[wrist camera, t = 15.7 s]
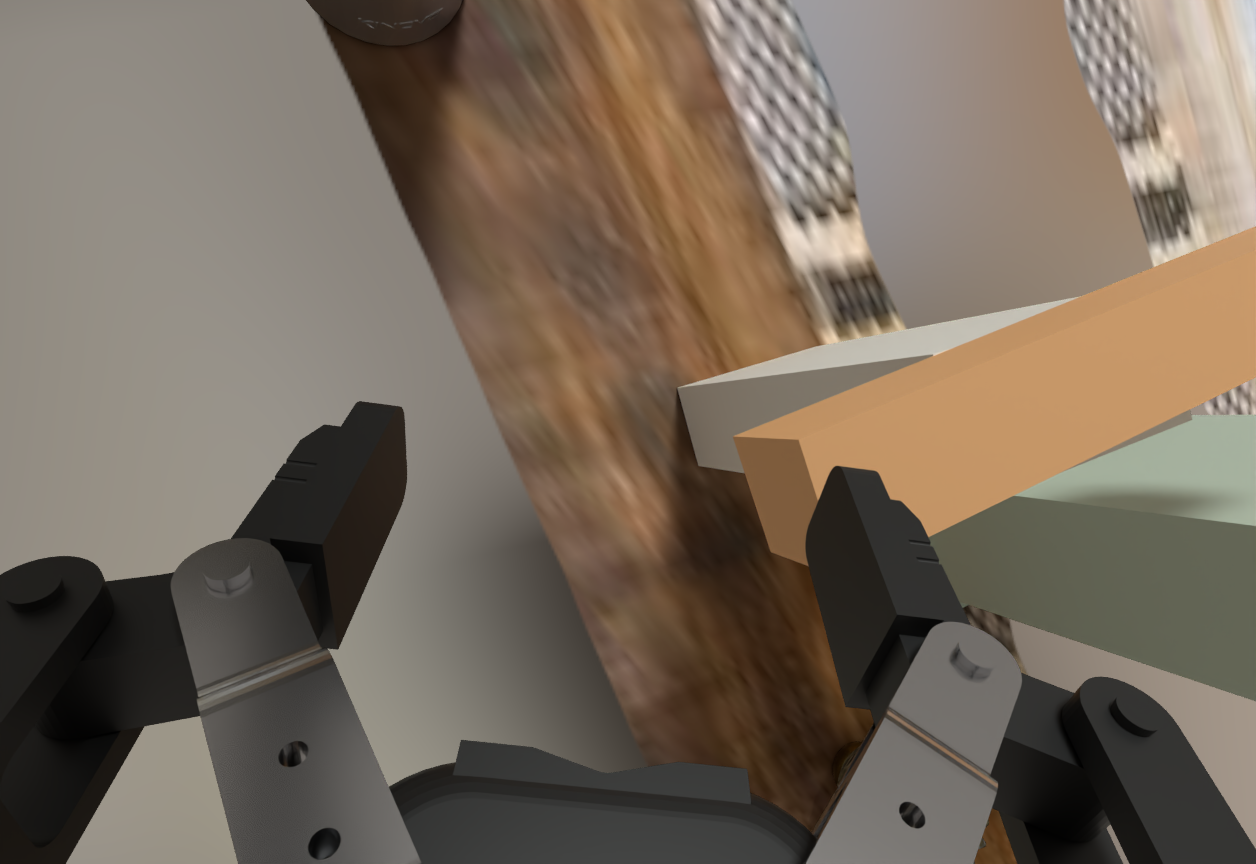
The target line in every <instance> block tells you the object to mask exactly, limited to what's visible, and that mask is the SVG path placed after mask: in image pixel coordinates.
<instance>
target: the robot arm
mask: <svg viewBox="0 0 1256 864" xmlns="http://www.w3.org/2000/svg"><path fill="white" fill-rule="evenodd" d="M306 1H307V2H308V3H309V4H310V6H311V7H312V8H313V9H314V11H316V12H317V13H318V14H319V15H320V16H321V17H322V18H324V19H325V20H326V21H327V22H328V23H329V24H331V25H332V26H334V27H336V28H337V29H339V30H341V31H342V32H344V33H346V34H347V35H349V36H352V37H355V38H357V39H360V40H363V41H365V42H369V43H374V44H380V45H386V46H389V45H407V44H411V43H416V42H420V41H423V40H425V39H427V38H429V37H431V36H433V35H435V34H437V33H438V32H439V31H440V30H441V29H443V28H444V27H445V26H446V25H447V24H448V23H449V22H450V21H451V20H452V18H453V17H454V16H455V14H456V13H457V11H458V10H459V8H460V5H461V3H462V0H306ZM405 440H406V439H405V420H404V412H403V409H402V407H399V406H391V405H384V404H377V403H369V402H362V401H359V402H357V403H356V404H355V406H354V407H353V409H352V410H351V412H350V413H349V415H348V417H347V418H346V420H345V421H344V423H343V424H342V426H341V427H339V426H331V425H323V426H321V427H320V428H318V429H317V430H315V431H314V432H312V433H311V434H309V435H308V436H306V437H305V438H303V439H302V440H300V441H299V443H298V444H297V446H296V447H295V449H294V450H293V451H292V453H291V454H290V456H289V457H288V458H287V462H286V464H283V466H282V467H281V468H280V470H279V471H278V473H277V474H276V476H275V480H272V481H271V482H270V484H269V485H268V487H267V488H266V490H265V491H264V492H263V494H262V495H261V497H260V498H259V500H258V501H257V502H256V504H255V505H254V507H253V508H252V510H251V511H250V512H249V514H248V515H247V517H246V518H245V519H244V521H243V522H242V524H241V525H240V526H239V528H238V529H237V531H236V532H235V534H234V535H233V536H232V538H231V539H228V540H224V541H220V542H216V543H213V544H211V545H208V546H206V547H204V548H201V549H200V550H198V551H196V552H195V553H193V554H191V555H190V556H189V557H188V558H186V559H185V560H184V561H183V562H182V563H181V564H180V565H179V566H178V568H177V569H176V571H175V572H173V573H169V574H163V575H156V576H148V577H140V578H131V579H123V580H115V581H106V582H105V580H104V577H103V575H102V572H101V571H100V569H99V568H98V566H96V565H95V564H94V563H93V562H91V561H89V560H86V559H83V558H79V557H71V556H57V557H48V558H43V559H38V560H35V561H31V562H28V563H25V564H22V565H20V566H17V567H15V568H13V569H10V570H9V571H6V572H4V573H3V574H1V575H0V864H66V862H67V860H68V859H69V857H70V855H71V853H72V852H73V850H74V848H75V846H76V845H77V843H78V841H79V840H80V838H81V836H82V834H83V833H84V831H85V829H86V827H87V826H88V824H89V822H90V820H91V819H92V817H93V815H94V813H95V812H96V810H97V808H98V806H99V805H100V803H101V801H102V799H103V798H104V796H105V794H106V792H107V791H108V789H109V787H110V785H111V784H112V782H113V780H114V779H115V777H116V775H117V773H118V772H119V770H120V768H121V766H122V765H123V763H124V761H125V759H126V758H127V756H128V754H129V752H130V751H131V749H132V747H133V745H134V744H135V742H136V740H137V738H138V737H139V735H140V733H141V731H142V730H143V728H144V726H148V725H154V724H159V723H165V722H170V721H175V720H180V719H186V718H191V717H197V716H201V720H202V724H203V728H204V732H205V736H206V740H207V744H208V747H209V751H210V755H211V759H212V763H213V767H214V771H215V775H216V779H217V783H218V787H219V790H220V794H221V798H222V802H223V806H224V810H225V814H226V818H227V822H228V825H229V830H230V833H231V837H232V841H233V845H234V849H235V853H236V857H237V861H238V864H973V863H974V860H975V857H976V854H977V851H978V848H979V845H980V842H981V839H982V836H983V833H984V830H985V827H986V824H987V821H988V818H989V815H990V812H991V809H992V808H993V809H995V810H998V811H999V813H1000V816H1001V819H1002V821H1003V824H1004V827H1005V830H1006V833H1007V835H1008V838H1009V841H1010V844H1011V847H1012V850H1013V852H1014V855H1015V858H1016V861H1017V864H1123V863H1122V860H1121V858H1120V856H1119V854H1118V852H1117V850H1116V848H1115V846H1114V843H1113V841H1112V839H1111V837H1110V835H1109V833H1108V831H1107V829H1106V828H1107V827H1108V826H1109V825H1110V824H1111V826H1112V828H1113V830H1114V832H1115V834H1116V836H1117V839H1118V840H1119V842H1120V845H1121V847H1122V849H1123V851H1124V853H1125V855H1126V857H1127V859H1128V861H1129V863H1130V864H1256V849H1255V847H1254V846H1253V844H1252V843H1251V841H1250V839H1249V838H1248V836H1247V835H1246V833H1245V831H1244V830H1243V828H1242V827H1241V825H1240V823H1239V822H1238V820H1237V819H1236V817H1235V815H1234V814H1233V812H1232V811H1231V809H1230V807H1229V806H1228V804H1227V803H1226V801H1225V800H1224V798H1223V796H1222V795H1221V793H1220V792H1219V790H1218V788H1217V787H1216V786H1215V784H1214V782H1213V780H1212V779H1211V777H1210V776H1209V774H1208V772H1207V771H1206V769H1205V768H1204V766H1203V764H1202V763H1201V761H1200V760H1199V759H1198V756H1197V755H1196V753H1195V752H1194V750H1193V748H1192V747H1191V745H1190V744H1189V742H1188V741H1187V739H1186V737H1185V736H1184V734H1183V733H1182V731H1181V729H1180V728H1179V726H1178V725H1177V723H1176V722H1175V721H1174V719H1173V718H1172V717H1171V716H1170V715H1169V713H1168V712H1167V711H1166V710H1165V709H1164V708H1163V707H1162V706H1161V705H1160V704H1158V703H1157V702H1156V701H1155V700H1153V699H1152V698H1151V697H1150V696H1148V695H1147V694H1145V693H1144V692H1142V691H1141V690H1139V689H1137V688H1135V687H1134V686H1131V685H1129V684H1127V683H1125V682H1122V681H1119V680H1117V679H1113V678H1108V677H1094V678H1090V679H1088V680H1086V681H1085V682H1084V683H1083V684H1082V686H1080V688H1079V689H1078V690H1077V691H1076V692H1075V693H1072V692H1070V691H1067V690H1064V689H1062V688H1059V687H1056V686H1054V685H1051V684H1048V683H1046V682H1043V681H1041V680H1038V679H1035V678H1033V677H1030V676H1028V675H1025V674H1023V673H1021V672H1020V668H1019V666H1018V664H1017V662H1016V660H1015V659H1014V657H1013V656H1012V655H1011V653H1010V652H1009V651H1008V650H1007V649H1006V648H1005V647H1004V646H1003V645H1002V644H1001V643H1000V642H999V641H997V640H996V639H995V638H994V637H992V636H991V635H989V634H988V633H986V632H984V631H982V630H980V629H978V628H976V627H973V626H971V625H970V623H969V621H968V619H967V616H966V614H965V612H964V610H963V608H962V606H961V604H960V602H959V600H958V598H957V596H956V594H955V591H954V589H953V587H952V585H951V583H950V581H949V579H948V577H947V575H946V573H945V571H944V569H943V567H942V564H939V558H938V556H937V554H936V552H935V550H934V548H933V547H932V546H930V544H931V542H930V539H929V537H928V535H927V533H926V531H925V529H924V527H923V525H922V523H921V521H920V520H919V519H918V518H917V517H916V516H915V515H914V514H913V513H912V512H911V511H910V510H909V508H908V507H907V506H906V505H905V504H904V503H903V502H902V501H899V500H892V499H890V497H889V495H888V493H887V490H886V488H885V486H884V484H883V481H882V479H881V477H880V475H879V473H878V472H877V471H874V470H866V469H859V468H851V467H843V466H835V467H833V469H832V470H831V471H830V473H829V475H828V478H827V480H826V483H825V485H824V488H823V490H822V493H821V495H820V498H819V500H818V503H817V505H816V508H815V510H814V513H813V515H812V518H811V520H810V523H809V525H808V529H807V534H806V542H805V550H806V558H807V562H808V566H809V569H810V573H811V577H812V581H813V585H814V588H815V592H816V596H817V600H818V604H819V607H820V611H821V615H822V619H823V623H824V626H825V630H826V634H827V638H828V642H829V645H830V649H831V653H832V657H833V661H834V664H835V668H836V672H837V676H838V680H839V683H840V687H841V691H842V695H843V699H844V702H845V706H846V707H852V708H861V709H870V710H871V713H872V717H873V720H874V723H873V725H872V726H871V728H870V729H869V731H868V733H867V735H866V736H865V738H864V740H863V742H862V744H861V745H860V747H859V749H858V751H857V753H856V754H855V756H854V758H853V760H852V762H851V763H850V765H849V767H848V769H847V771H846V773H845V774H844V776H843V778H842V780H841V782H840V783H839V785H838V787H837V789H836V791H835V792H834V794H833V796H832V798H831V800H830V801H829V803H828V805H827V807H826V809H825V810H824V812H823V814H822V816H821V817H820V819H819V821H818V823H817V824H816V826H815V828H814V829H813V831H812V833H811V832H810V831H809V830H808V829H807V828H806V827H805V826H804V825H802V824H801V823H800V822H799V821H797V820H796V819H795V818H794V817H793V816H791V815H790V814H789V813H787V812H786V811H784V810H782V809H781V808H779V807H778V806H776V805H775V804H773V803H771V802H769V801H767V800H765V799H763V798H761V797H759V796H757V795H754V794H752V793H750V788H749V780H748V772H747V769H742V768H733V767H723V766H713V765H703V764H693V763H683V762H675V763H669V764H663V765H657V766H651V767H644V768H638V769H632V770H626V771H620V772H614V773H603V772H599V771H596V770H593V769H590V768H588V767H585V766H582V765H579V764H577V763H574V762H571V761H569V760H566V759H563V758H561V757H558V756H555V755H553V754H549V753H547V752H544V751H542V750H539V749H536V748H533V747H525V746H516V745H506V744H496V743H487V742H486V743H485V742H477V741H467V740H461V742H460V747H459V751H458V756H457V759H456V762H455V763H450V764H445V765H440V766H436V767H433V768H430V769H426V770H423V771H421V772H418V773H416V774H413V775H411V776H409V777H406V778H404V779H402V780H400V781H399V782H397V783H395V784H393V785H392V786H389V787H388V785H387V782H386V780H385V778H384V775H383V773H382V771H381V769H380V766H379V764H378V762H377V759H376V757H375V755H374V752H373V750H372V748H371V745H370V743H369V741H368V738H367V736H366V734H365V731H364V729H363V727H362V725H361V722H360V720H359V718H358V715H357V713H356V711H355V709H354V706H353V704H352V701H351V699H350V697H349V695H348V692H347V690H346V688H345V685H344V683H343V681H342V678H341V676H340V674H339V672H338V669H337V667H336V664H335V662H334V660H333V658H332V656H331V654H330V652H329V650H328V649H327V648H329V649H339V646H340V644H341V642H342V639H343V637H344V635H345V633H346V630H347V628H348V626H349V624H350V621H351V619H352V617H353V615H354V612H355V610H356V607H357V605H358V603H359V601H360V599H361V596H362V594H363V592H364V589H365V587H366V585H367V583H368V580H369V578H370V576H371V573H372V571H373V569H374V567H375V565H376V562H377V560H378V558H379V555H380V553H381V551H382V549H383V546H384V544H385V542H386V539H387V537H388V535H389V533H390V530H391V528H392V526H393V524H394V521H395V519H396V517H397V515H398V512H399V510H400V508H401V505H402V502H403V499H404V495H405V489H406V483H407V460H406V441H405Z"/></svg>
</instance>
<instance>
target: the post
mask: <svg viewBox="0 0 1256 864" xmlns="http://www.w3.org/2000/svg"><path fill="white" fill-rule="evenodd" d="M1076 298H1079V297H1076ZM1076 298H1070V299H1065V300H1060V301H1054V302H1049V303H1044V304H1039V305H1033V306H1028V307H1023V308H1017V309H1012V310H1007V311H1002V312H996V313H991V314H986V315H981V316H975V317H970V318H965V319H959V320H954V321H950V322H944V323H938V324H933V325H928V326H923V327H917V328H912V329H907V330H901V331H896V332H891V333H885V334H880V335H875V336H870V337H864V338H859V339H854V340H848V341H843V342H838V343H833V344H827V345H822V346H817V347H813V348H810V349H806V350H803V351H799V352H796V353H793V354H789V355H786V356H783V357H779V358H776V359H773V360H769V361H766V362H762V363H759V364H756V365H752V366H749V367H746V368H742V369H739V370H735V371H732V372H729V373H725V374H722V375H719V376H715V377H712V378H709V379H705V380H702V381H698V382H695V383H692V384H688V385H685V386H682V387H678V388H677V389H678V393H679V397H680V400H681V404H682V408H683V411H684V415H685V419H686V423H687V426H688V430H689V434H690V437H691V441H692V445H693V448H694V452H695V456H696V459H697V463H698V466H702V467H708V468H714V469H721V470H727V471H733V472H739V473H745V472H744V469H743V466H742V463H741V460H740V457H739V454H738V451H737V448H736V445H735V442H734V439H733V436H735V435H738V434H740V433H743V432H745V431H748V430H750V429H753V428H755V427H758V426H760V425H763V424H765V423H768V422H770V421H773V420H775V419H778V418H780V417H782V416H785V415H787V414H790V413H792V412H795V411H797V410H800V409H802V408H805V407H807V406H810V405H812V404H815V403H817V402H820V401H822V400H825V399H827V398H830V397H832V396H835V395H837V394H840V393H842V392H845V391H847V390H850V389H852V388H855V387H857V386H860V385H862V384H865V383H867V382H870V381H872V380H875V379H877V378H880V377H882V376H885V375H887V374H890V373H892V372H895V371H897V370H900V369H902V368H904V367H907V366H909V365H912V364H914V363H917V362H919V361H922V360H924V359H927V358H929V357H932V356H934V355H937V354H939V353H942V352H944V351H947V350H949V349H952V348H954V347H957V346H959V345H962V344H964V343H967V342H969V341H972V340H974V339H977V338H979V337H982V336H984V335H987V334H989V333H992V332H994V331H997V330H999V329H1002V328H1004V327H1007V326H1009V325H1012V324H1014V323H1017V322H1019V321H1022V320H1024V319H1026V318H1029V317H1031V316H1034V315H1036V314H1039V313H1041V312H1044V311H1046V310H1049V309H1051V308H1054V307H1056V306H1059V305H1061V304H1064V303H1066V302H1069V301H1071V300H1074V299H1076ZM1191 420H1192V415H1191V411H1190V410H1188V411H1186V412H1183V413H1181V414H1179V415H1177V416H1175V417H1173V418H1171V419H1169V420H1167V421H1165V422H1163V423H1161V424H1159V425H1157V426H1155V427H1153V428H1151V429H1149V430H1147V431H1145V432H1143V433H1141V434H1139V435H1136V436H1134V437H1132V438H1130V439H1128V440H1126V441H1124V442H1122V443H1120V444H1118V445H1116V446H1114V447H1112V448H1110V449H1108V450H1106V451H1104V452H1102V453H1100V454H1098V455H1096V456H1094V457H1092V458H1089V459H1087V460H1085V461H1083V462H1081V463H1079V464H1077V465H1075V466H1073V467H1071V468H1074V467H1076V466H1079V465H1081V464H1084V463H1086V462H1089V461H1091V460H1094V459H1096V458H1099V457H1101V456H1104V455H1106V454H1109V453H1111V452H1114V451H1116V450H1118V449H1121V448H1123V447H1126V446H1128V445H1131V444H1133V443H1136V442H1138V441H1141V440H1143V439H1146V438H1148V437H1151V436H1153V435H1156V434H1158V433H1161V432H1163V431H1166V430H1168V429H1171V428H1173V427H1176V426H1178V425H1181V424H1183V423H1186V422H1188V421H1191ZM1071 468H1069V469H1071ZM1069 469H1067V470H1069ZM1065 471H1066V470H1065ZM1063 472H1064V471H1063Z"/></svg>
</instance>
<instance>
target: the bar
mask: <svg viewBox="0 0 1256 864" xmlns="http://www.w3.org/2000/svg"><path fill="white" fill-rule="evenodd" d="M1255 377H1256V227H1253V228H1251V229H1248V230H1246V231H1243V232H1241V233H1238V234H1236V235H1233V236H1231V237H1228V238H1226V239H1223V240H1221V241H1218V242H1216V243H1213V244H1211V245H1208V246H1206V247H1203V248H1201V249H1198V250H1196V251H1193V252H1191V253H1188V254H1186V255H1183V256H1181V257H1178V258H1176V259H1173V260H1171V261H1168V262H1166V263H1163V264H1161V265H1158V266H1156V267H1153V268H1151V269H1148V270H1146V271H1144V272H1141V273H1139V274H1136V275H1134V276H1131V277H1129V278H1126V279H1124V280H1121V281H1119V282H1116V283H1114V284H1111V285H1109V286H1106V287H1104V288H1101V289H1099V290H1096V291H1094V292H1091V293H1089V294H1086V295H1084V296H1081V297H1079V298H1076V299H1074V300H1071V301H1069V302H1066V303H1064V304H1061V305H1059V306H1056V307H1054V308H1051V309H1049V310H1046V311H1044V312H1041V313H1039V314H1036V315H1034V316H1031V317H1029V318H1026V319H1024V320H1022V321H1019V322H1017V323H1014V324H1012V325H1009V326H1007V327H1004V328H1002V329H999V330H997V331H994V332H992V333H989V334H987V335H984V336H982V337H979V338H977V339H974V340H972V341H969V342H967V343H964V344H962V345H959V346H957V347H954V348H952V349H949V350H947V351H944V352H942V353H939V354H937V355H934V356H932V357H929V358H927V359H924V360H922V361H919V362H917V363H914V364H912V365H909V366H907V367H904V368H902V369H900V370H897V371H895V372H892V373H890V374H887V375H885V376H882V377H880V378H877V379H875V380H872V381H870V382H867V383H865V384H862V385H860V386H857V387H855V388H852V389H850V390H847V391H845V392H842V393H840V394H837V395H835V396H832V397H830V398H827V399H825V400H822V401H820V402H817V403H815V404H812V405H810V406H807V407H805V408H802V409H800V410H797V411H795V412H792V413H790V414H787V415H785V416H782V417H780V418H778V419H775V420H773V421H770V422H768V423H765V424H763V425H760V426H758V427H755V428H753V429H750V430H748V431H745V432H743V433H740V434H738V435H735V436H733V439H734V442H735V445H736V448H737V451H738V454H739V457H740V460H741V463H742V466H743V469H744V472H745V475H746V479H747V482H748V485H749V488H750V491H751V494H752V497H753V500H754V503H755V506H756V509H757V512H758V515H759V518H760V521H761V524H762V527H763V530H764V533H765V536H766V539H767V542H768V545H769V548H770V551H771V552H772V553H774V554H777V555H780V556H782V557H785V558H788V559H790V560H793V561H796V562H798V563H801V564H804V565H806V566H808V562H807V558H806V550H805V542H806V534H807V529H808V525H809V523H810V520H811V518H812V515H813V513H814V510H815V508H816V505H817V503H818V500H819V498H820V495H821V493H822V490H823V488H824V485H825V483H826V480H827V478H828V475H829V473H830V471H831V470H832V469H833V467H835V466H843V467H851V468H859V469H866V470H874V471H877V472H878V473H879V475H880V477H881V479H882V481H883V484H884V486H885V488H886V490H887V493H888V495H889V497H890V499H892V500H899V501H902V502H903V503H904V504H905V505H906V506H907V507H908V508H909V510H910V511H911V512H912V513H913V514H914V515H915V516H916V517H917V518H918V519H919V520H920V521H921V523H922V525H923V527H924V529H925V531H926V533H927V535H928V537H930V536H932V535H934V534H936V533H938V532H940V531H942V530H944V529H946V528H948V527H951V526H953V525H955V524H957V523H959V522H961V521H963V520H965V519H967V518H969V517H971V516H973V515H975V514H977V513H979V512H981V511H983V510H985V509H987V508H989V507H991V506H993V505H995V504H998V503H1000V502H1002V501H1004V500H1006V499H1008V498H1010V497H1012V496H1014V495H1016V494H1018V493H1020V492H1022V491H1024V490H1026V489H1028V488H1030V487H1032V486H1034V485H1036V484H1038V483H1040V482H1042V481H1045V480H1047V479H1049V478H1051V477H1053V476H1055V475H1057V474H1059V473H1061V472H1063V471H1065V470H1067V469H1069V468H1071V467H1073V466H1075V465H1077V464H1079V463H1081V462H1083V461H1085V460H1087V459H1089V458H1092V457H1094V456H1096V455H1098V454H1100V453H1102V452H1104V451H1106V450H1108V449H1110V448H1112V447H1114V446H1116V445H1118V444H1120V443H1122V442H1124V441H1126V440H1128V439H1130V438H1132V437H1134V436H1136V435H1139V434H1141V433H1143V432H1145V431H1147V430H1149V429H1151V428H1153V427H1155V426H1157V425H1159V424H1161V423H1163V422H1165V421H1167V420H1169V419H1171V418H1173V417H1175V416H1177V415H1179V414H1181V413H1183V412H1186V411H1188V410H1190V409H1191V408H1194V407H1196V406H1198V405H1200V404H1202V403H1204V402H1206V401H1208V400H1210V399H1212V398H1214V397H1216V396H1218V395H1220V394H1222V393H1224V392H1226V391H1228V390H1231V389H1233V388H1235V387H1237V386H1239V385H1241V384H1243V383H1245V382H1247V381H1249V380H1251V379H1253V378H1255Z"/></svg>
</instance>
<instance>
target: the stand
mask: <svg viewBox="0 0 1256 864" xmlns="http://www.w3.org/2000/svg"><path fill="white" fill-rule="evenodd" d="M929 539H930V542H931V544H930V546H932V547H933V548H934V550H935V552H936V554H937V556H938V558H939V564H942V567H943V569H944V571H945V573H946V575H947V577H948V579H949V581H950V583H951V585H952V587H953V589H954V591H955V594H956V596H957V598H958V600H959V602H960V604H961V606H962V608H963V607H966V606H968V605H970V606H973V607H976V608H979V609H982V610H985V611H988V612H991V613H994V614H997V615H1000V616H1003V617H1006V618H1009V619H1012V620H1015V621H1018V622H1021V623H1024V624H1027V625H1030V626H1033V627H1036V628H1039V629H1042V630H1045V631H1048V632H1051V633H1054V634H1057V635H1060V636H1063V637H1066V638H1069V639H1072V640H1075V641H1078V642H1081V643H1084V644H1087V645H1090V646H1093V647H1096V648H1099V649H1102V650H1104V651H1107V652H1110V653H1113V654H1116V655H1119V656H1123V657H1125V658H1128V659H1131V660H1135V661H1138V662H1141V663H1143V664H1146V665H1149V666H1152V667H1156V668H1158V669H1161V670H1164V671H1167V672H1170V673H1173V674H1176V675H1179V676H1182V677H1185V678H1188V679H1191V680H1194V681H1197V682H1200V683H1203V684H1206V685H1209V686H1212V687H1215V688H1218V689H1221V690H1224V691H1227V692H1230V693H1233V694H1236V695H1239V696H1242V697H1245V698H1248V699H1251V700H1254V701H1256V415H1192V420H1191V421H1188V422H1186V423H1183V424H1181V425H1178V426H1176V427H1173V428H1171V429H1168V430H1166V431H1163V432H1161V433H1158V434H1156V435H1153V436H1151V437H1148V438H1146V439H1143V440H1141V441H1138V442H1136V443H1133V444H1131V445H1128V446H1126V447H1123V448H1121V449H1118V450H1116V451H1114V452H1111V453H1109V454H1106V455H1104V456H1101V457H1099V458H1096V459H1094V460H1091V461H1089V462H1086V463H1084V464H1081V465H1079V466H1076V467H1074V468H1071V469H1069V470H1066V471H1064V472H1061V473H1059V474H1057V475H1055V476H1053V477H1051V478H1049V479H1047V480H1045V481H1042V482H1040V483H1038V484H1036V485H1034V486H1032V487H1030V488H1028V489H1026V490H1024V491H1022V492H1020V493H1018V494H1016V495H1014V496H1012V497H1010V498H1008V499H1006V500H1004V501H1002V502H1000V503H998V504H995V505H993V506H991V507H989V508H987V509H985V510H983V511H981V512H979V513H977V514H975V515H973V516H971V517H969V518H967V519H965V520H963V521H961V522H959V523H957V524H955V525H953V526H951V527H948V528H946V529H944V530H942V531H940V532H938V533H936V534H934V535H932V536H930V537H929Z"/></svg>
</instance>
